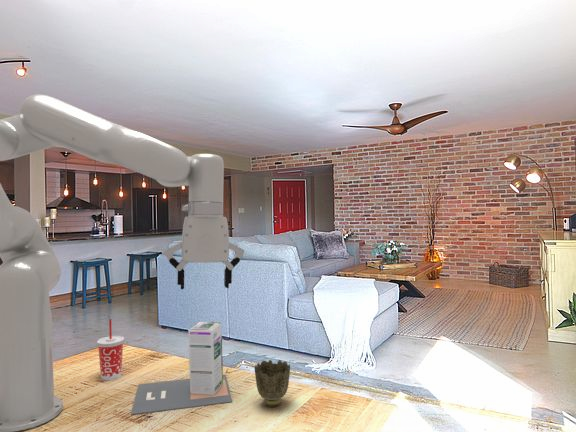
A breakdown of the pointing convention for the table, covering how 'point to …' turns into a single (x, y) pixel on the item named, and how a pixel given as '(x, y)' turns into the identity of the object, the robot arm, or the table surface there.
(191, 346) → the syrup box
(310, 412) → the table surface
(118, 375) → the beverage cup
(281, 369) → the cup
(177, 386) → the mat
